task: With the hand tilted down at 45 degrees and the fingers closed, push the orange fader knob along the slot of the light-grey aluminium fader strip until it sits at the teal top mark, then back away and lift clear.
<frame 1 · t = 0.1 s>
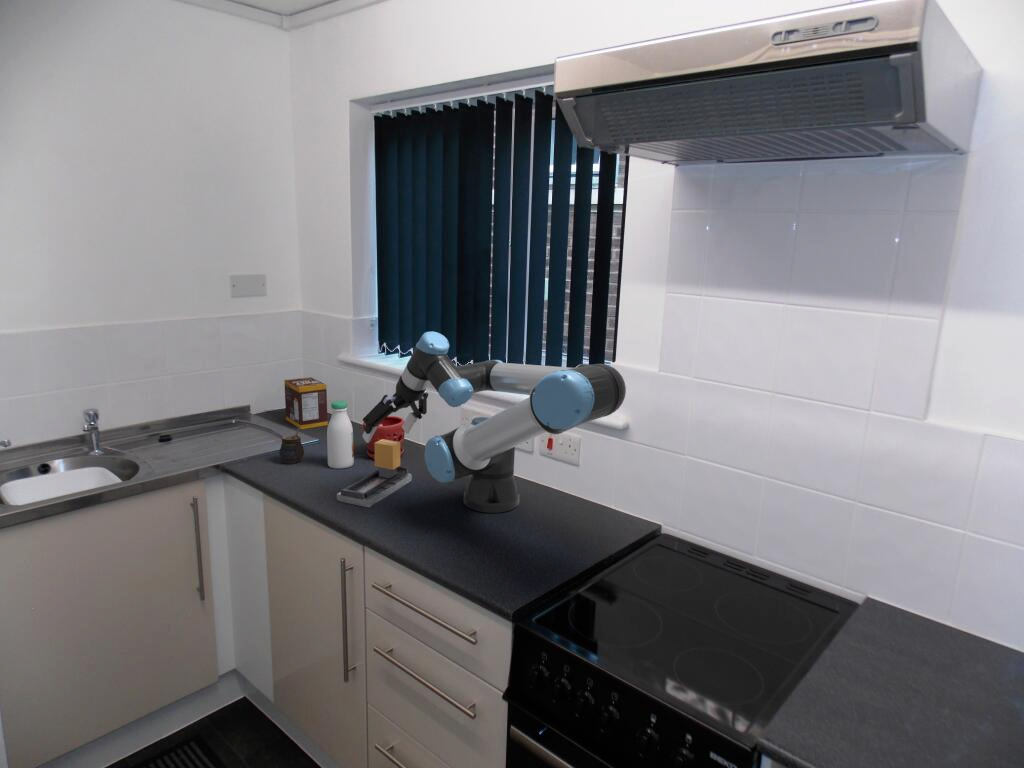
hand: (385, 434, 187), 15 cm above the countertop, tool tilted 35°, fingers open, 13 cm apart
milk bottle: (340, 465, 206), on the countertop
plant pot: (384, 456, 215), on the countertop
mate gourd: (292, 462, 208), on the countertop
supplement box: (306, 423, 249), on the countertop
fader strip: (376, 490, 187), on the countertop
fader knob: (387, 458, 191), point 7 cm above the countertop, slide at 0.0 cm
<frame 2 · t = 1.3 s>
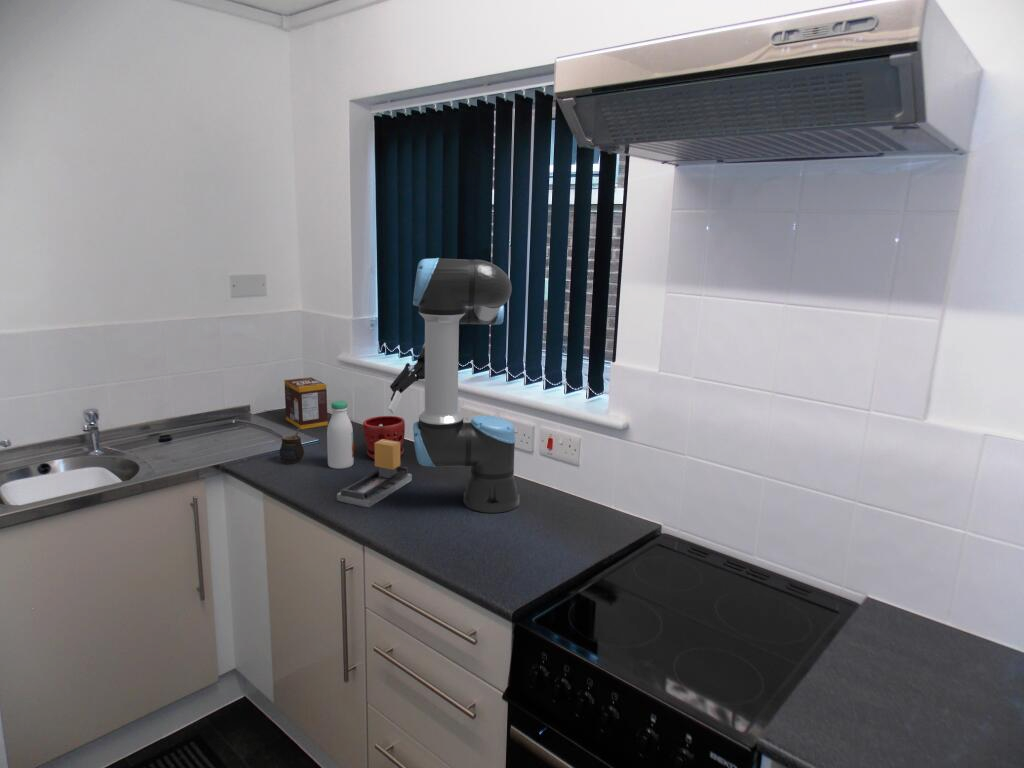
hand: (407, 413, 198), 18 cm above the countertop, tool tilted 45°, fingers open, 10 cm apart
nothing on the countertop moved.
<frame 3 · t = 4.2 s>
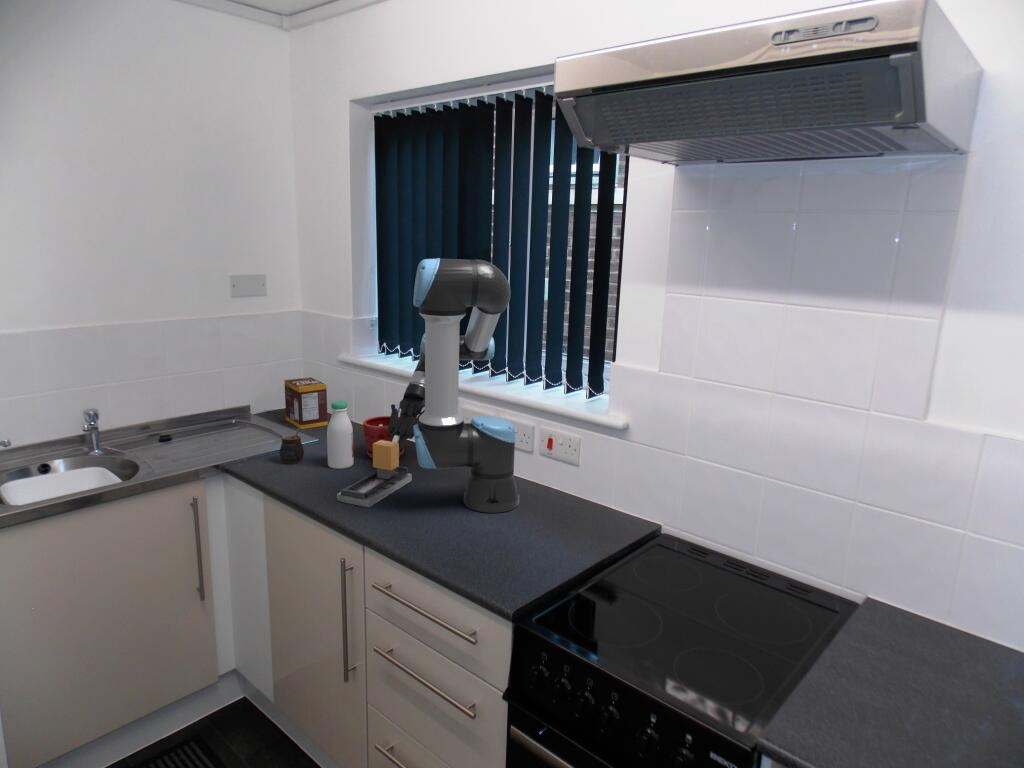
hand: (390, 457, 193), 7 cm above the countertop, tool tilted 45°, fingers closed
fader knob: (385, 459, 190), point 7 cm above the countertop, slide at 0.9 cm, touching gripper
everything else where it was.
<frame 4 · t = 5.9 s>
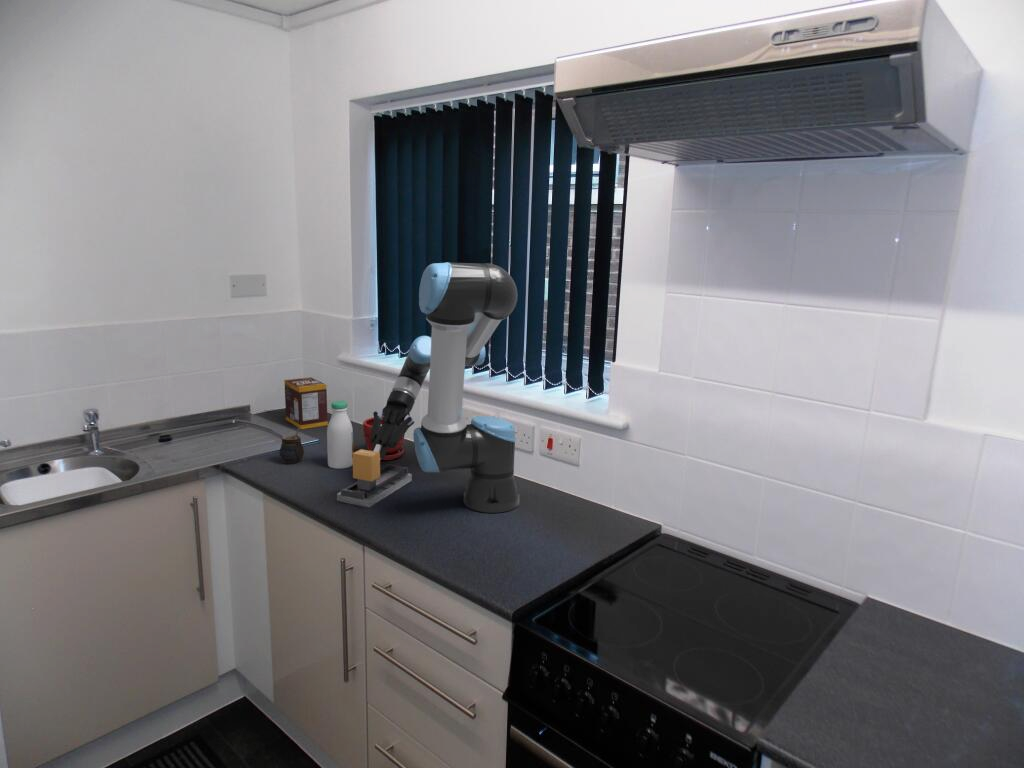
hand: (371, 467, 184), 7 cm above the countertop, tool tilted 45°, fingers closed
fader knob: (366, 470, 181), point 7 cm above the countertop, slide at 10.4 cm, touching gripper
everything else where it was.
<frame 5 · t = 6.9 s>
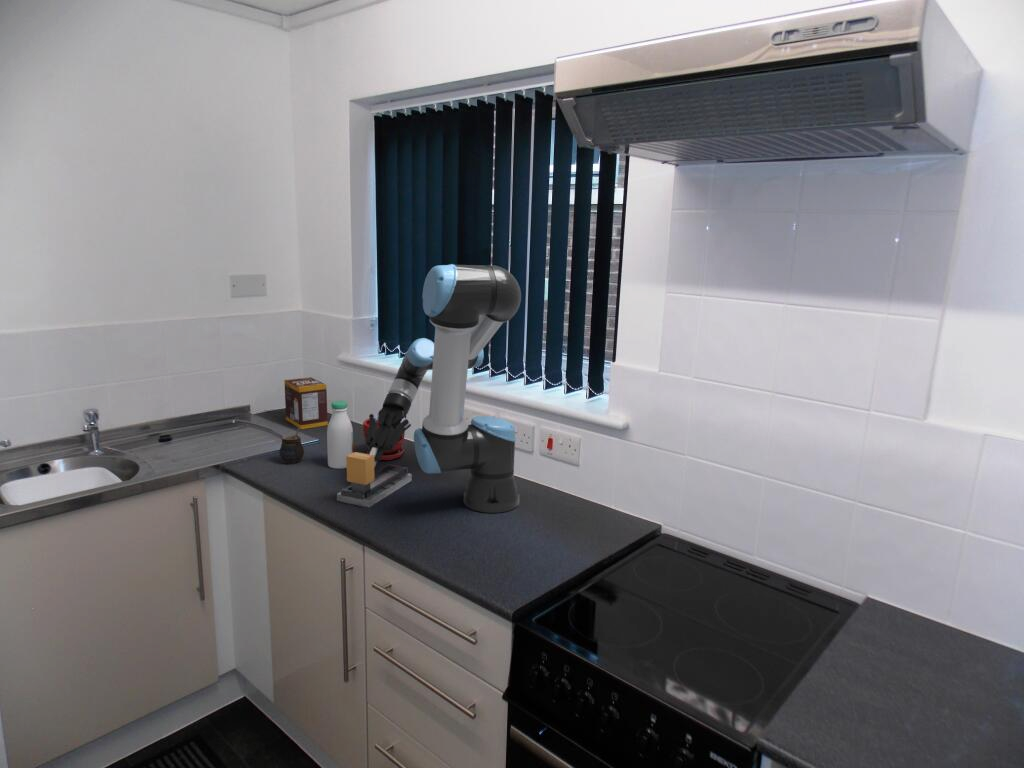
hand: (367, 470, 182), 7 cm above the countertop, tool tilted 45°, fingers closed
fader knob: (360, 473, 179), point 7 cm above the countertop, slide at 13.1 cm, touching gripper
everything else where it was.
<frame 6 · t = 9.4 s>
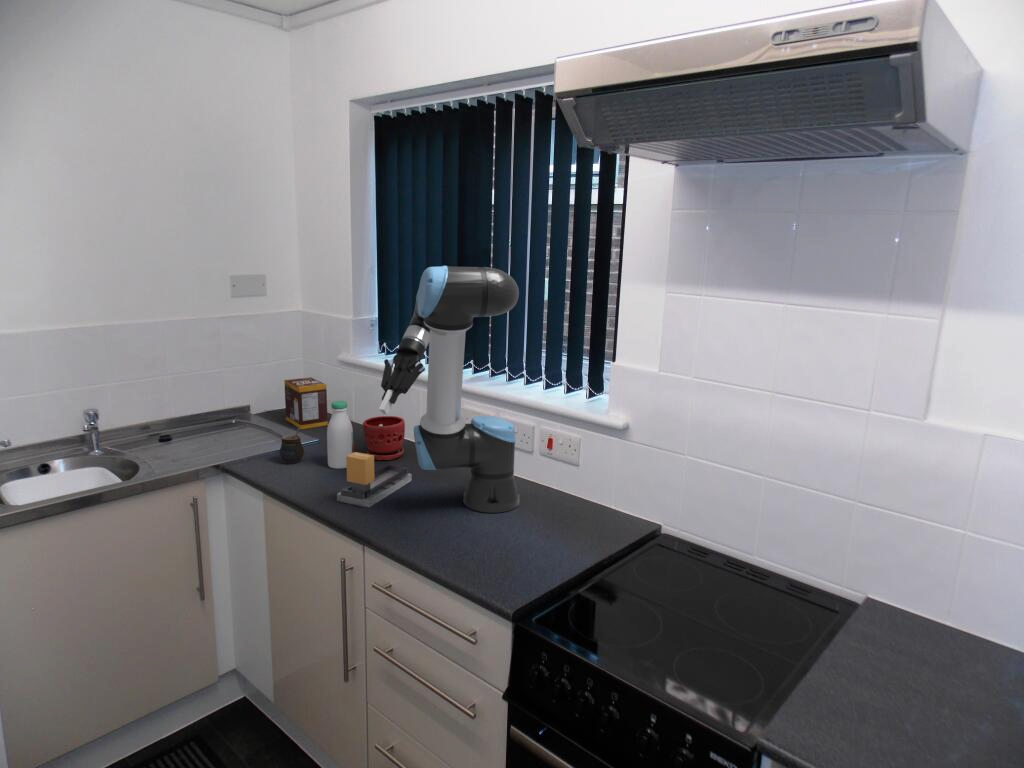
hand: (383, 411, 186), 22 cm above the countertop, tool tilted 45°, fingers closed
fader knob: (360, 473, 179), point 7 cm above the countertop, slide at 13.2 cm
everything else where it was.
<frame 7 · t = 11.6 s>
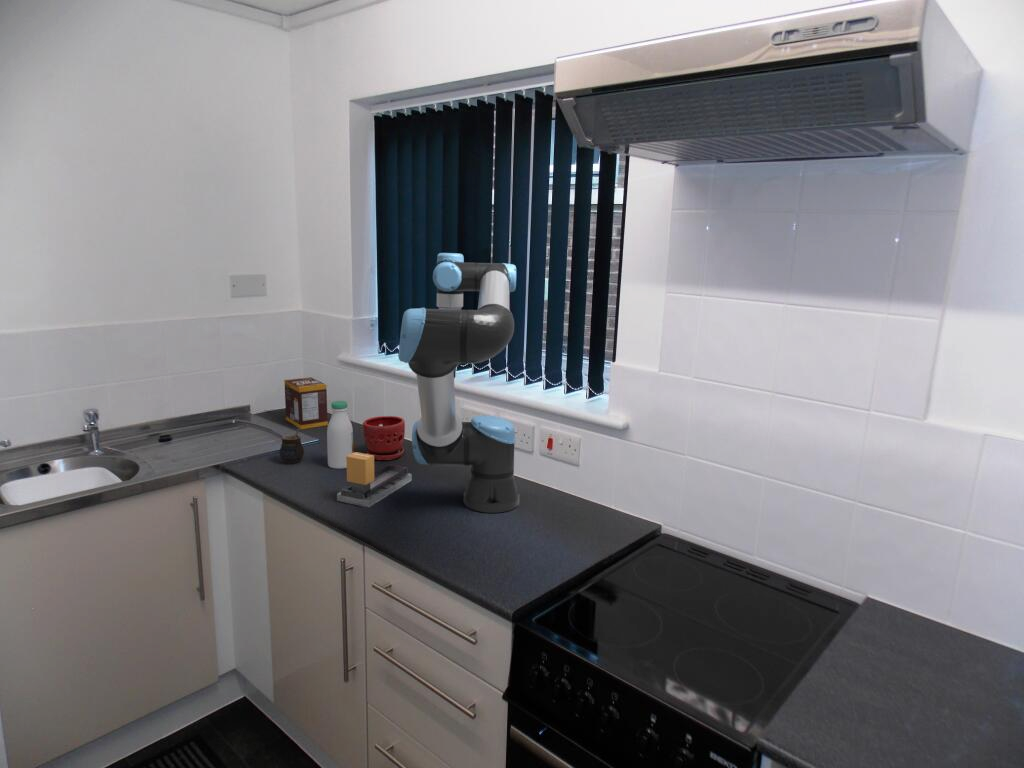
hand: (449, 388, 195), 26 cm above the countertop, tool pointing down, fingers closed
nothing on the countertop moved.
at the end: fader knob slide at 13.2 cm; the gripper is holding nothing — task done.
